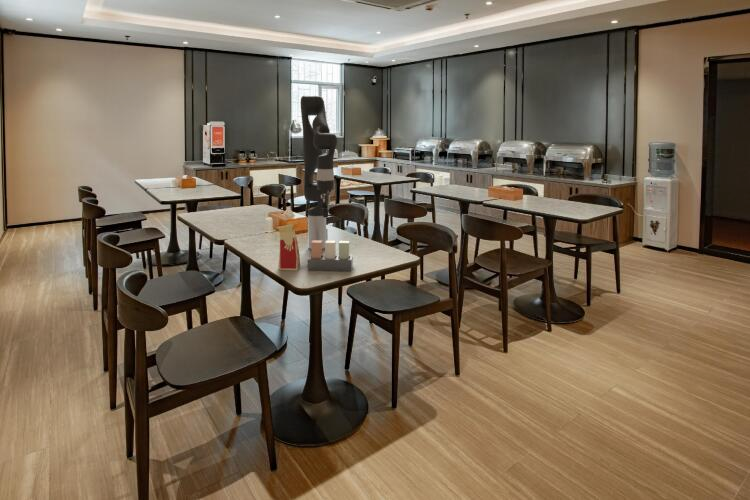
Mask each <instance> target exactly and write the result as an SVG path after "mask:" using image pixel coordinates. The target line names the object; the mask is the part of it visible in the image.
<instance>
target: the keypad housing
mask: <svg viewBox="0 0 750 500" xmlns="http://www.w3.org/2000/svg"><path fill="white" fill-rule="evenodd" d="M353 257H354V255H353V254H349V259H339V254H336V258H335V259H325V254H322V258H321V259H320V258H312V253H311V254H309V257H308V258H307V271H309V272H310V271H313V272H314V271H316V272H317V271H318V272H319V271H321V272H322V271H323V272H324V271H325V272H352V270H353V267H354V266H353V265H354V260H353V259H354V258H353Z"/></svg>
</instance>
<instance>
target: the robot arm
mask: <svg viewBox="0 0 750 500" xmlns="http://www.w3.org/2000/svg"><path fill="white" fill-rule="evenodd" d="M325 105H326V104H325V100H324V98H323V97H322V96H321V95H303V96H301V98H300V113H301V114H300V115H301V123H302V124H301V125H302V151H303V152H302V153H303V164H304V165H303V167H304V179H303V195H304V199H305V200H306V201H307V202H316V203H317V205H316V206H314V207H310V208H308V209H307V223H308V224H307V231H308V233H307V234H308V235H307V236H308V243H307V244H308V249H310V250H311V242H312V241H313V240H320V241H322V250H325V242H326V241H329V239H328V235H329V234H328V228H327V218H329V208H330V204H331V193H330V191H333V190H334V189H335V173H334V157H335V152H336V147H337V145H338V137H337V135H336V134H335V133H332V132H330V127H329V124H328V121H327V113H326V107H325ZM309 116H315V117H314V118H313V120H312V123H311V122H310V117H309ZM323 150H328V151H327V153H325V154H323ZM316 169H317V170H316ZM315 171H316V182H314V181H313V180H314V174H315Z"/></svg>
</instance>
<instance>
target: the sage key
mask: <svg viewBox="0 0 750 500" xmlns="http://www.w3.org/2000/svg"><path fill="white" fill-rule="evenodd" d="M338 255H339V259H349V255H350V241H349V240H339V241H338Z"/></svg>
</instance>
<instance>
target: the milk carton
mask: <svg viewBox="0 0 750 500" xmlns="http://www.w3.org/2000/svg"><path fill="white" fill-rule="evenodd" d="M276 228H277V229H278V232H279V257H278V266H277V267H278V270H279V271H298V270H299V268H300V267H301V258H300V257H301V255H300V249H299V242H298V240H297V238H298V237H297V236H296V232H295V228H294V223H290V224H287V225H282V226H278V227H277V226H276Z"/></svg>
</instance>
